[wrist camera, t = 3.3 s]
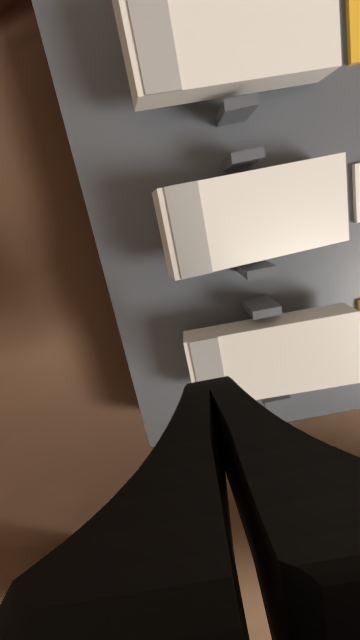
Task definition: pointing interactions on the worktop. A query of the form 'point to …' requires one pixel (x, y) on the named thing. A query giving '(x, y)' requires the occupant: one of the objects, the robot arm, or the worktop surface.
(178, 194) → the rocker
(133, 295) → the switch box
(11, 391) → the worktop surface
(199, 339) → the rocker
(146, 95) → the rocker
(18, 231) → the worktop surface
